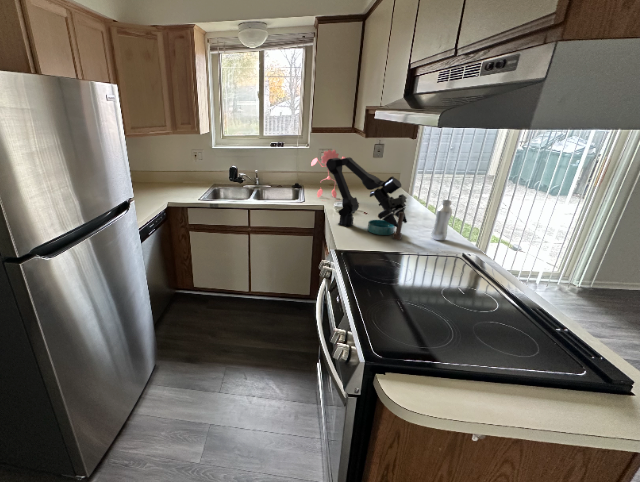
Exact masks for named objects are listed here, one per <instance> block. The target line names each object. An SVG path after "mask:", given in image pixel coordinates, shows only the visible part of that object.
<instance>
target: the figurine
mask: <svg viewBox="0 0 640 482" xmlns="http://www.w3.org/2000/svg"><path fill="white" fill-rule="evenodd" d="M339 156H340V155H339V153H337V151H336V149H333V150H330V149H328V150H327V151H326V150H324V151H323V155H322V156H321V158H320V159H321V161H319V159H318V157H315V158H314V159H312V161H311V163H310V164H311V165H310V166H311V167H314V166H315V165H316V164H317V162H318V164H319V165H320V167H321V168H324V167H325V168H327V166H326V163H327V161H328V160H329V159H332V158H339ZM344 158H347V157H346V156H343V155H342V157H341V159H344ZM322 164H324V165H322ZM327 175H328V176H327V177H326V178H324V179H322V180H320V182H322V181H325V180H328V181H330V180H331V181H334V184H337V183H336V180H335V179H333V178H332V177H331V176H330V171H329V170H327ZM335 188H336V185H334V187H333V189H332V190H331V195H332V198H335V199H336V198H337V195H338V194H337V191H336V190H335ZM323 193H324V190H323V189H322V188H320V189H318V191H317V193H316V196H317V198H320V197H321V196H322V195H323ZM322 201H325V199H324V200H323V199H322ZM336 201H338V202H339V200H336Z"/></svg>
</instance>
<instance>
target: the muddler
mask: <svg viewBox="0 0 640 482" xmlns="http://www.w3.org/2000/svg"><path fill="white" fill-rule="evenodd" d="M404 213H405V211H404V212H399V217H397V218H398V219H397V223H398V225H399V227H395V228H396V229H395V231H394V233H393V236H392V239H393V240H395V241H400V240H402V236H403V233H402V227H403V223H404V222H403V217H404Z"/></svg>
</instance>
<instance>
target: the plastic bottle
mask: <svg viewBox="0 0 640 482" xmlns="http://www.w3.org/2000/svg"><path fill="white" fill-rule="evenodd" d="M451 205H452V200H449V199H442V201H441V205H440V206H439V207H437V209H436V213H435V223H434V226H433V229H432V231H431V234H430V235H431V238H432V239H433V240H436V241H444V240H446V239H447V236H448V227H449V222H450V220H451V218H452V214H453V210H452V207H451Z"/></svg>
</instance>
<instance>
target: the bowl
mask: <svg viewBox="0 0 640 482" xmlns="http://www.w3.org/2000/svg"><path fill="white" fill-rule="evenodd" d="M395 228H396V227H395V226H394V225H392V224H390V223H388V222H386V221H384V220H382V219H371V220H369V221H368V223H367V228H366V229H367V231H368V232H369V233H372V234H374V235H378V236H390V235H392V234H393V235H394V232H395Z"/></svg>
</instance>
